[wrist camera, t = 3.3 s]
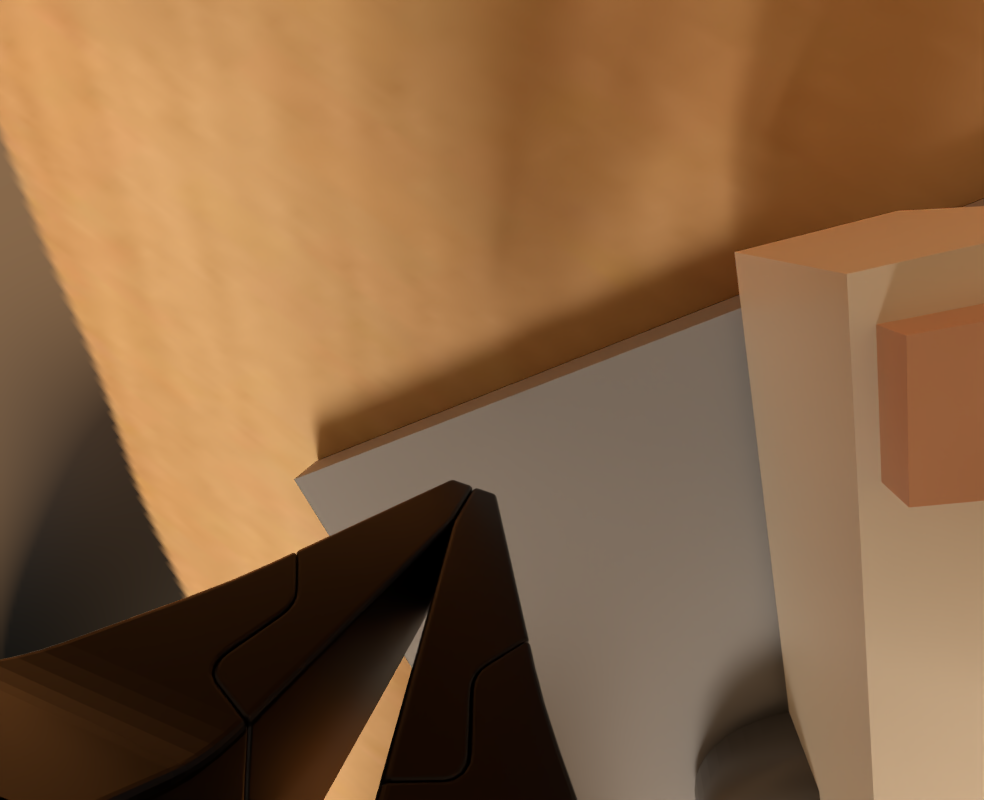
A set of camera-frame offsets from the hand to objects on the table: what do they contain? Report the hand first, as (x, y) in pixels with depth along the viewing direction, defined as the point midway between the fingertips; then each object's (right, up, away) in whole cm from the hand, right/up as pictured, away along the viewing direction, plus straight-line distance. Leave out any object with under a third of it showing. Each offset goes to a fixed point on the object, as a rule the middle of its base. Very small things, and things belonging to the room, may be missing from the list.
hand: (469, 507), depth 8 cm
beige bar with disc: (+8, -3, +1) cm, 8 cm away
